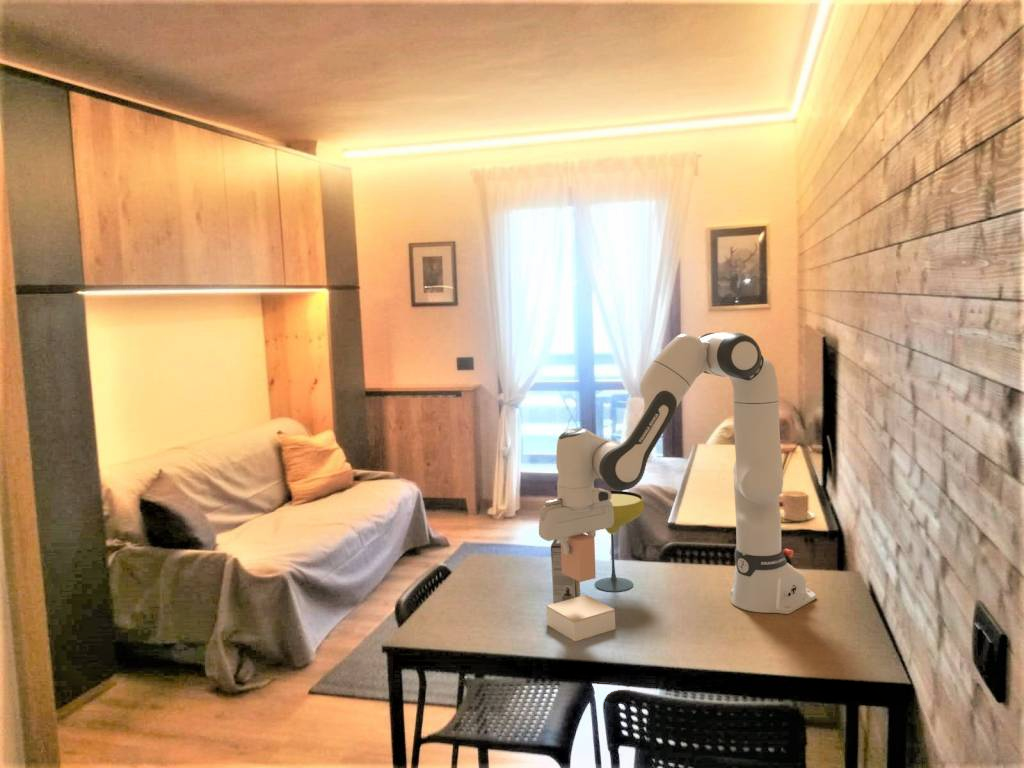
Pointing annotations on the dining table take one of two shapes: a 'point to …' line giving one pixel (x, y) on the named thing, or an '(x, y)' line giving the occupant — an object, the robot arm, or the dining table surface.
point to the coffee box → (561, 577)
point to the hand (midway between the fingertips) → (577, 551)
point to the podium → (580, 617)
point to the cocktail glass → (624, 512)
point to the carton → (579, 558)
